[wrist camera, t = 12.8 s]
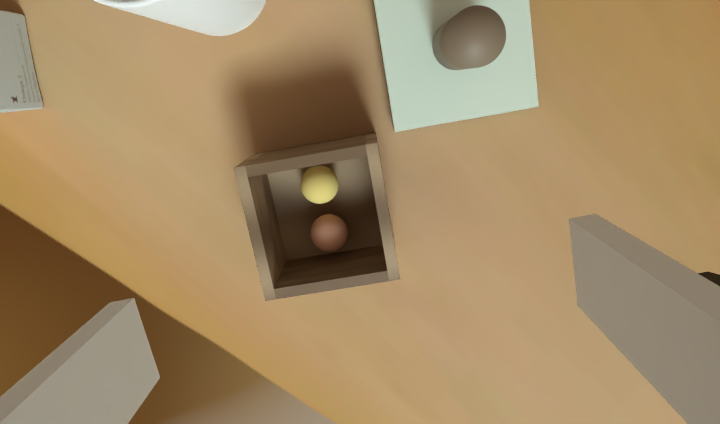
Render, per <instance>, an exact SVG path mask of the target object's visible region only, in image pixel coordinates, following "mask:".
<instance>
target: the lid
mask: <svg viewBox="0 0 720 424" xmlns="http://www.w3.org/2000/svg"><path fill="white" fill-rule="evenodd" d="M373 1H374V7H375V13H376V20H377V26H378V32H379V38H380V45H381V51H382V57H383V63H384V70H385V76H386V82H387V89H388V95H389V101H390V107H391V114H392V120H393V126H394V131H395V132H397V131H403V130H409V129H414V128H420V127H426V126H431V125H437V124H443V123H448V122H454V121H460V120H465V119H471V118H477V117H482V116H488V115H494V114H499V113H505V112H511V111H516V110H522V109H528V108H533V107H539V105H538V94H537V83H536V72H535V61H534V50H533V39H532V28H531V17H530V6H529V0H373Z"/></svg>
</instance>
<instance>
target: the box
mask: <svg viewBox="0 0 720 424" xmlns="http://www.w3.org/2000/svg"><path fill="white" fill-rule="evenodd" d="M318 165H320V166H326V167H328V168H330V169H331V170H332V171H333V172H334V173H335V174H336V176H337V178H338V182H339V187H338V191H337V194H336V195H335V197H334V198H333V199H332V200H330V201H329V202H326V203H323V204H317V203H313V202H311V201H309V200H308V199H306V198H305V196H304V195H303V193H302V191H301V187H300V183H301V178H302V176H303V174H304V173H305V172H306V171H307V170H308V169H309V168H311V167H313V166H318ZM234 171H235V176H236V180H237V184H238V188H239V192H240V196H241V201H242V205H243V209H244V213H245V217H246V222H247V226H248V230H249V234H250V238H251V242H252V247H253V251H254V255H255V259H256V263H257V268H258V272H259V276H260V280H261V284H262V288H263V293H264V297H265V301H268V300H274V299H280V298H286V297H293V296H299V295H305V294H311V293H318V292H324V291H330V290H336V289H343V288H349V287H355V286H361V285H368V284H374V283H380V282H386V281H393V280H399V279H400V275H399V269H398V263H397V257H396V251H395V245H394V239H393V233H392V227H391V221H390V215H389V209H388V203H387V197H386V191H385V185H384V179H383V174H382V168H381V162H380V156H379V150H378V144H377V138H376V133H371V134H366V135H360V136H354V137H349V138H343V139H338V140H332V141H326V142H321V143H315V144H309V145H304V146H298V147H292V148H287V149H281V150H275V151H270V152H264V153H258V154H255V155H253V156H251V157H250V158H248V159H247V160H245V161H244V162H242V163H241V164H239V165H238V166H236V167H234ZM326 214H333V215H336V216H338V217H340V218H341V219H342V220H343V221H344V222H345V224H346V226H347V229H348V237H347V240H346V242H345V244H344V245H343V246H342V247H341V248H339V249H338V250H335V251H330V252H329V251H323V250H321V249H319V248H318V247H316V246H315V244H314V243H313V241H312V239H311V227H312V224H313V223H314V221H315V220H316V219H317V218H319V217H320V216H322V215H326Z"/></svg>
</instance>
